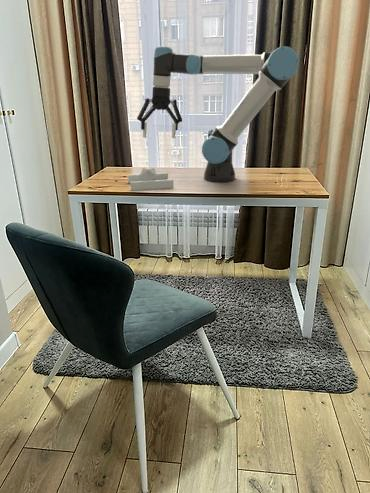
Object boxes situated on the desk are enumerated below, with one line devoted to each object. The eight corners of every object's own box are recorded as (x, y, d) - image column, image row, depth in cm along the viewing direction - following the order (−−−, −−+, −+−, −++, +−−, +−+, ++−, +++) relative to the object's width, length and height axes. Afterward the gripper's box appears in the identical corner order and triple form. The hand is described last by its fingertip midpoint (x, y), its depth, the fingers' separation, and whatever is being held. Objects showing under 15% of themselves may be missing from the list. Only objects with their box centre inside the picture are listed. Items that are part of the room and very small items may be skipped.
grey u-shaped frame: (167, 179, 193) (167, 172, 192) (173, 187, 180) (173, 179, 178) (128, 182, 189) (127, 175, 188) (131, 190, 176) (130, 182, 175)
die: (150, 189, 179) (161, 171, 179) (134, 179, 179) (145, 161, 179) (152, 191, 187) (162, 173, 187) (136, 182, 187) (146, 164, 187)
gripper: (185, 88, 179) (182, 136, 187) (130, 84, 170) (129, 135, 178) (191, 89, 172) (187, 139, 181) (135, 85, 163) (134, 138, 172)
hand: (159, 137), depth 180 cm, fingers open, 13 cm apart
